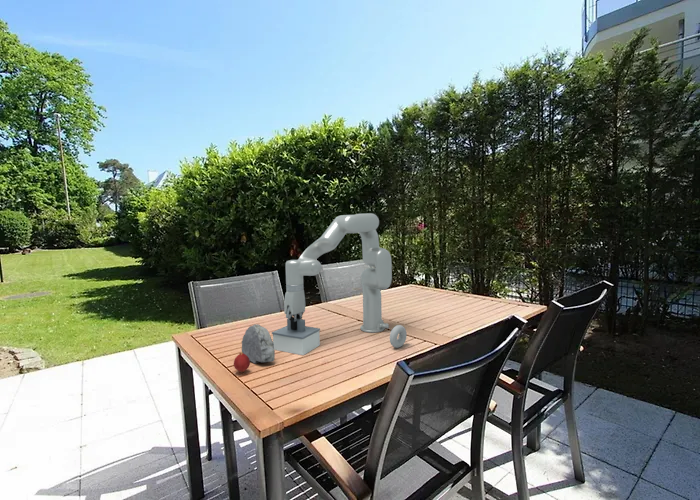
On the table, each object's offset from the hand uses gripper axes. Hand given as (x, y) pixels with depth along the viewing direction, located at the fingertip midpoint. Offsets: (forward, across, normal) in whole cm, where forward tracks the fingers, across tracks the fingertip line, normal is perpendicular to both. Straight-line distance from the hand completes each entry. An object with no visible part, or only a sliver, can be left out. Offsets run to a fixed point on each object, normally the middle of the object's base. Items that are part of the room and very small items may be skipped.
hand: (296, 328), depth 155 cm
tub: (+9, 0, 0) cm, 9 cm away
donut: (+9, -19, +41) cm, 46 cm away
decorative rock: (+9, +19, -5) cm, 22 cm away
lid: (+3, 0, 0) cm, 3 cm away
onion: (+9, +30, -3) cm, 31 cm away
